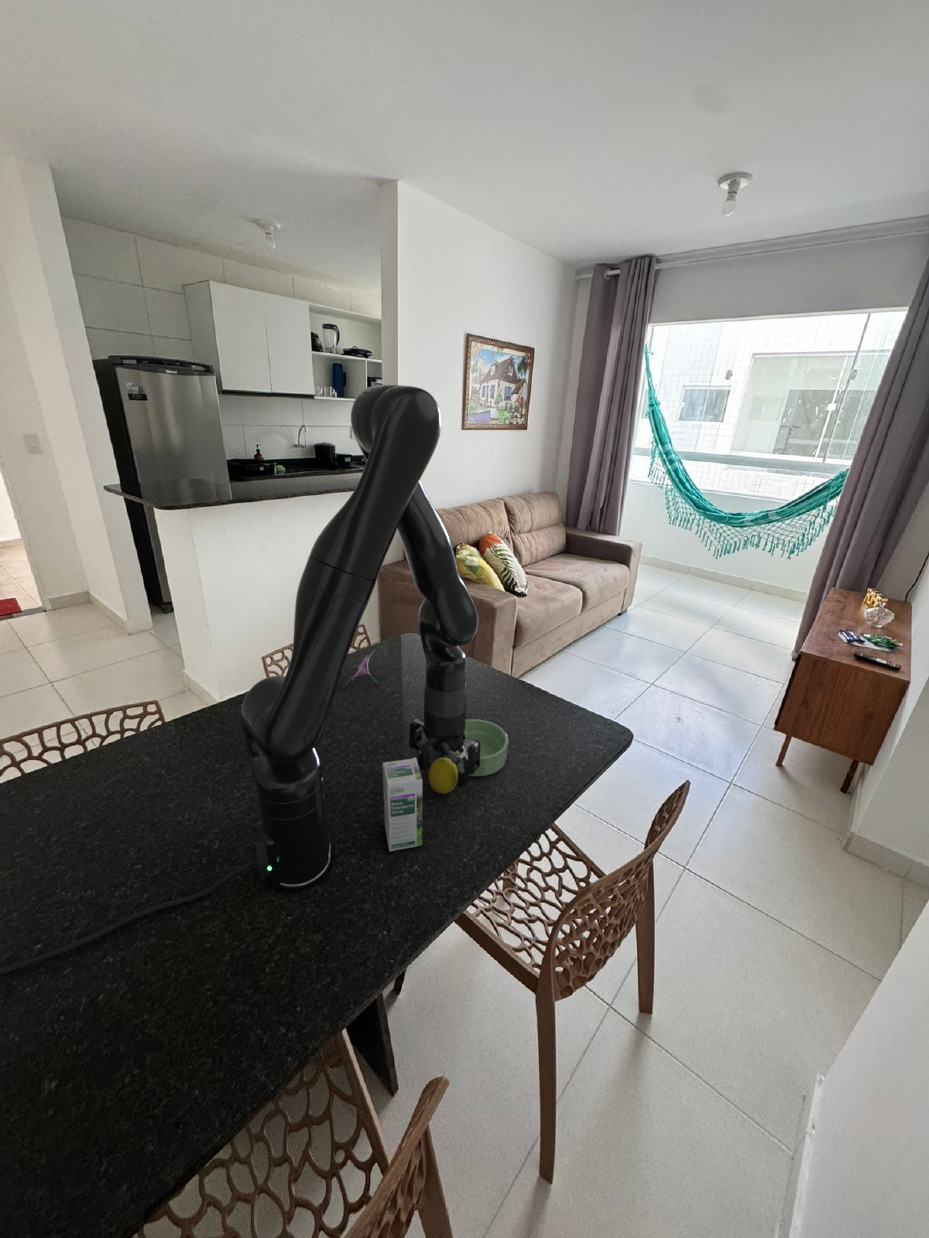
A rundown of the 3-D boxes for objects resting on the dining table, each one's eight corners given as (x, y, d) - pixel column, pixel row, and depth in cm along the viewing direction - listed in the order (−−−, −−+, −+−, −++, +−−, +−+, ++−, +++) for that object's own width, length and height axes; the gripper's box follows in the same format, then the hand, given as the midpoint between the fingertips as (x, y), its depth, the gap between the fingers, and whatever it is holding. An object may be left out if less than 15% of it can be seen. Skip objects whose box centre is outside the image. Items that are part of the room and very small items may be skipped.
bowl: (460, 785, 100) (461, 765, 98) (434, 746, 111) (434, 727, 109) (517, 768, 106) (519, 748, 104) (487, 732, 117) (489, 714, 115)
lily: (374, 671, 142) (356, 644, 138) (401, 670, 134) (382, 641, 130) (346, 701, 134) (325, 673, 131) (372, 702, 126) (351, 672, 123)
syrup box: (388, 852, 85) (386, 784, 79) (384, 826, 90) (382, 760, 84) (422, 846, 87) (423, 779, 81) (416, 820, 92) (416, 755, 86)
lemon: (458, 783, 101) (460, 751, 98) (455, 804, 96) (456, 770, 93) (430, 781, 101) (431, 748, 98) (426, 801, 96) (426, 767, 93)
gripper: (400, 701, 91) (400, 773, 97) (469, 727, 84) (465, 803, 91) (424, 682, 96) (423, 752, 103) (490, 706, 90) (485, 779, 97)
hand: (443, 776), depth 97 cm, fingers open, 8 cm apart
